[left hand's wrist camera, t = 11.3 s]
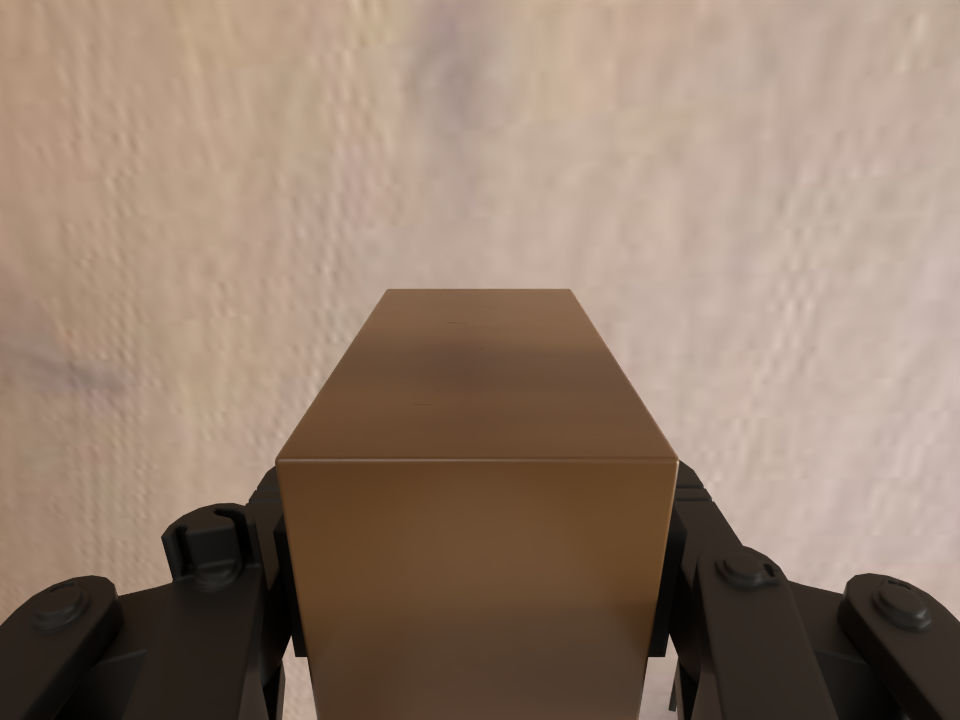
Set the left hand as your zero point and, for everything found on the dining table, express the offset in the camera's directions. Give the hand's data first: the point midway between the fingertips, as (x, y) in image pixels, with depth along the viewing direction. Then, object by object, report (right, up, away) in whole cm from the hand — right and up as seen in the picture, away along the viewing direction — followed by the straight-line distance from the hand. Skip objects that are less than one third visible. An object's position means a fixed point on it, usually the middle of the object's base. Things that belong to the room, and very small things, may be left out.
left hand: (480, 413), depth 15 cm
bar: (0, -9, +4) cm, 10 cm away
